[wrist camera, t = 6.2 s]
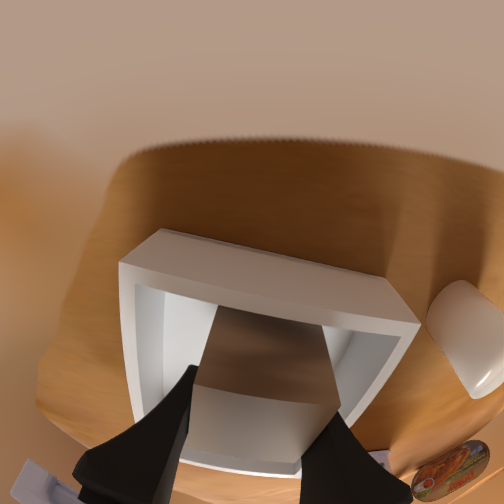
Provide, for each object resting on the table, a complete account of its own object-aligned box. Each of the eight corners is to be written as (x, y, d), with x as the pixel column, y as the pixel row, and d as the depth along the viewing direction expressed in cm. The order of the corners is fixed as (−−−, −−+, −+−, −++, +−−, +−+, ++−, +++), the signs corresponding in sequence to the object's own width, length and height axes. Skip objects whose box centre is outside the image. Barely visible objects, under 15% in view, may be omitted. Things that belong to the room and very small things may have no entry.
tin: (481, 431, 24) (496, 464, 16) (478, 437, 25) (492, 468, 17) (406, 472, 27) (416, 509, 19) (407, 476, 28) (415, 510, 20)
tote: (385, 278, 15) (421, 324, 10) (298, 435, 21) (300, 478, 17) (161, 227, 15) (118, 261, 10) (157, 408, 21) (141, 450, 16)
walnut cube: (321, 324, 12) (341, 405, 8) (291, 390, 14) (294, 462, 10) (218, 304, 12) (193, 383, 8) (206, 374, 14) (187, 447, 9)
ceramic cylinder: (483, 285, 15) (536, 334, 8) (455, 338, 17) (495, 394, 10) (444, 274, 15) (505, 331, 8) (414, 334, 17) (455, 402, 10)
